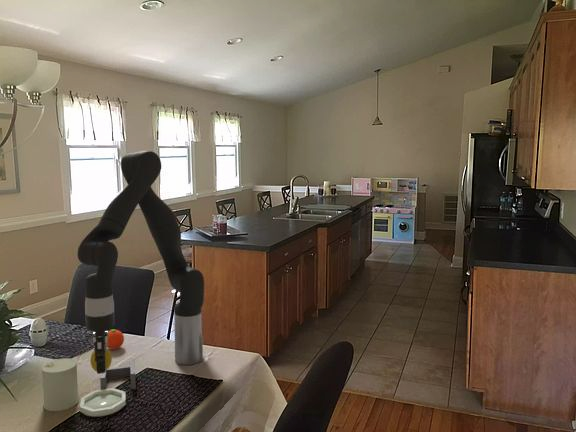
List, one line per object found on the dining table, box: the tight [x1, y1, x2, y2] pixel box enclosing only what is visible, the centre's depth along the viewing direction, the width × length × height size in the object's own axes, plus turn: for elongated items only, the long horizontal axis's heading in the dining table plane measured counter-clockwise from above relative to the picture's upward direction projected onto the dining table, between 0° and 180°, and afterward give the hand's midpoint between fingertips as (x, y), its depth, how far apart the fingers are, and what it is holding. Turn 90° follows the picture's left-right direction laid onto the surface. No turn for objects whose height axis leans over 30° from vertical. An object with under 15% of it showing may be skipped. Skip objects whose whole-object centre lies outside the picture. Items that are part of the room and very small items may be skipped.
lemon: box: [90, 348, 113, 372], centre depth 133 cm, size 6×6×8 cm
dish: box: [79, 387, 126, 418], centre depth 135 cm, size 12×12×2 cm
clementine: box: [107, 328, 125, 350], centre depth 173 cm, size 8×7×7 cm
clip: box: [99, 358, 137, 390], centre depth 147 cm, size 10×11×5 cm
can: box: [41, 357, 80, 412], centre depth 135 cm, size 9×9×12 cm
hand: (101, 367), depth 133 cm, fingers closed on lemon, 5 cm apart
